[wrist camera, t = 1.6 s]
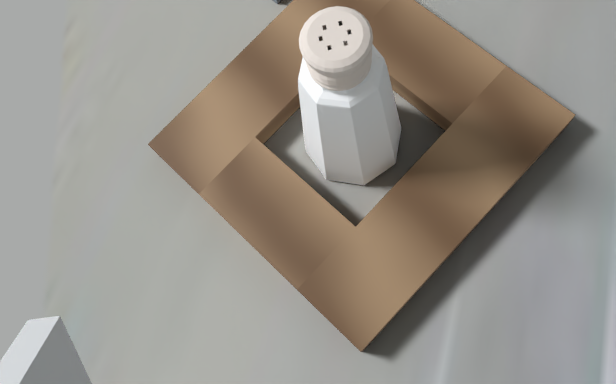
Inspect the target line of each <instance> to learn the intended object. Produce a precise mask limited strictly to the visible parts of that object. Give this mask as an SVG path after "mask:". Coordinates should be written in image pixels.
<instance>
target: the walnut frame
mask: <svg viewBox="0 0 616 384" xmlns="http://www.w3.org/2000/svg"><path fill="white" fill-rule="evenodd" d="M335 6H341V7H348V8H351V9H354V10H356V11H358V12H359V13H361V14H362V15H363V16H364V17H365V18H366V19H367V20H368V22H369V24H370V26H371V28H372V34H373V43H372V44H373V45H374V47H375V48H376V49H377V50H378V51H379V53H380V54H381V55H382V56H383V57H384V59H385V62H386V65H387V69H388V73H389V77H390V81H391V86H392V90H394V91H395V92H396V93H398V94H399V95H400V96H401V97H403V98H404V99H405V100H407V101H408V102H409V103H410V104H412V105H413V106H414V107H416V108H417V109H418V110H419V111H421V112H422V113H423V114H425V115H426V116H427V117H428V118H430V119H431V120H432V121H433V122H435V123H436V124H437V125H439V126H440V127H441V128H442V129H444V130H445V132H444V133H443V134H442V135H441V136H440V137H439V138H438V139H437V141H436V142H435V143H434V144H433V145H432V146H431V147H430V148H429V149H428V150H427V151H426V152H425V153H424V154H423V155H422V157H421V158H420V159H419V160H418V161H417V162H416V163H415V164H414V165H413V166H412V167H411V168H410V169H409V170H408V171H407V173H406V174H405V175H404V176H403V177H402V178H401V179H400V180H399V181H398V182H397V183H396V184H395V185H394V186H393V187H392V189H391V190H390V191H389V192H388V193H387V194H386V195H385V196H384V197H383V198H382V199H381V200H380V201H379V202H378V204H377V205H376V206H375V207H374V208H373V209H372V210H371V211H370V212H369V213H368V214H367V215H366V216H365V217H364V218H363V220H362V221H361V222H360V223H359V224H358V225H357V226H356V227H355V226H354V225H353V224H352V223H351V222H350V221H349V220H347V219H346V218H345V217H344V216H343V215H342V214H341V213H340V212H338V211H337V210H336V209H335V208H334V207H333V206H332V205H331V204H329V203H328V202H327V201H326V200H325V199H324V198H323V197H322V196H321V195H319V194H318V193H317V192H316V191H315V190H314V189H313V188H312V187H310V186H309V185H308V184H307V183H306V182H305V181H304V180H303V179H301V178H300V177H299V176H298V175H297V174H296V173H295V172H294V171H292V170H291V169H290V168H289V167H288V166H287V165H286V164H285V163H284V162H282V161H281V160H280V159H279V158H278V157H277V156H276V155H275V154H273V153H272V152H271V151H270V150H269V149H268V148H267V147H266V146H264V145H263V144H264V143H265V142H266V141H267V140H268V139H269V138H270V137H271V136H272V135H273V134H274V133H275V132H276V131H277V130H278V129H279V128H280V127H281V126H282V125H283V124H284V123H285V122H286V121H287V120H288V119H289V118H290V117H291V116H292V115H293V114H294V112H295V111H296V110H297V109H298V108H299V107H300V100H299V91H298V77H299V72H300V67H301V63H302V58H303V56H302V53H301V51H300V48H299V36H300V32H301V29H302V27H303V26H304V24H305V22H306V21H307V20H308V19H309V18H310V17H311V16H312V15H314V14H315V13H317V12H318V11H320V10H323V9H325V8H328V7H335ZM574 116H575V114H573V113H572V112H571V111H569V110H568V109H566V108H565V107H564V106H562V105H561V104H559V103H558V102H557V101H555V100H554V99H552V98H551V97H550V96H548V95H547V94H545V93H544V92H543V91H541V90H540V89H538V88H537V87H535V86H534V85H533V84H531V83H530V82H528V81H527V80H526V79H524V78H523V77H521V76H520V75H519V74H517V73H516V72H514V71H513V70H512V69H510V68H509V67H507V66H506V65H505V64H503V63H502V62H500V61H499V60H498V59H496V58H495V57H493V56H492V55H490V54H489V53H488V52H486V51H485V50H483V49H482V48H481V47H479V46H478V45H476V44H475V43H474V42H472V41H471V40H469V39H468V38H467V37H465V36H464V35H462V34H461V33H460V32H458V31H457V30H455V29H454V28H453V27H451V26H450V25H448V24H447V23H445V22H444V21H443V20H441V19H440V18H438V17H437V16H436V15H434V14H433V13H431V12H430V11H429V10H427V9H426V8H424V7H423V6H422V5H420V4H419V3H417V2H416V1H415V0H293V1H292V2H291V3H290V4H289V5H288V6H287V7H286V8H285V9H284V10H283V11H282V12H281V13H280V14H279V15H278V16H277V17H276V18H275V19H274V20H273V21H272V22H271V23H270V24H269V25H268V26H267V27H266V28H265V29H264V30H263V31H262V32H261V33H260V34H259V35H258V36H257V37H256V38H255V39H254V40H253V41H252V42H251V43H250V44H249V45H248V46H247V47H246V48H245V49H244V50H243V51H242V52H241V53H240V54H239V55H238V56H237V57H236V58H235V59H234V60H233V61H232V62H231V63H230V64H229V65H228V66H227V67H226V68H225V69H224V70H223V71H222V72H221V73H219V74H218V75H217V76H216V77H215V78H214V79H213V80H212V81H211V82H210V83H209V84H208V85H207V86H206V87H205V88H204V89H203V90H202V91H201V92H200V93H199V94H198V95H197V96H196V97H195V98H194V99H193V100H192V101H191V102H190V103H189V104H188V105H187V106H186V107H185V108H184V109H183V110H182V111H181V112H180V113H179V114H178V115H177V116H176V117H175V118H174V119H173V120H172V121H171V122H170V123H169V124H168V125H167V126H166V127H165V128H164V129H163V130H162V131H161V132H160V133H159V134H158V135H157V136H156V137H155V138H154V139H153V140H152V141H151V142H150V143H149V144H148V145H149V146H150V147H151V148H152V149H153V150H154V151H155V152H156V153H157V154H158V155H159V156H160V157H161V158H162V159H163V160H164V161H165V162H166V163H167V164H168V165H169V166H170V167H171V168H172V169H174V170H175V171H176V172H177V173H178V174H179V175H180V176H181V177H182V178H183V179H184V180H185V181H186V182H187V183H188V184H189V185H190V186H191V187H192V188H193V189H194V190H195V191H196V192H197V193H198V194H199V195H200V196H201V197H202V198H203V199H204V200H205V201H206V202H207V203H208V204H209V205H211V206H212V207H213V208H214V209H215V210H216V211H217V212H218V213H219V214H220V215H221V216H222V217H223V218H224V219H225V220H226V221H227V222H228V223H229V224H230V225H231V226H232V227H233V228H234V229H235V230H236V231H237V232H238V233H239V234H240V235H241V236H242V237H243V238H244V239H245V240H246V241H248V242H249V243H250V244H251V245H252V246H253V247H254V248H255V249H256V250H257V251H258V252H259V253H260V254H261V255H262V256H263V257H264V258H265V259H266V260H267V261H268V262H269V263H270V264H271V265H272V266H273V267H274V268H275V269H276V270H277V271H278V272H279V273H280V274H281V275H282V276H283V277H285V278H286V279H287V280H288V281H289V282H290V283H291V284H292V285H293V286H294V287H295V288H296V289H297V290H298V291H299V292H300V293H301V294H302V295H303V296H304V297H305V298H306V299H307V300H308V301H309V302H310V303H311V304H312V305H313V306H314V307H315V308H316V309H317V310H318V311H319V312H320V313H321V314H323V315H324V316H325V317H326V318H327V319H328V320H329V321H330V322H331V323H332V324H333V325H334V326H335V327H336V328H337V329H338V330H339V331H340V332H341V333H342V334H343V335H344V336H345V337H346V338H347V339H348V340H349V341H350V342H351V343H352V344H353V345H354V346H355V347H356V348H357V349H358V350H360V351H361V352H363V351H364V350H365V349H366V348H367V346H368V345H369V344H370V343H371V342H372V341H373V340H374V339H375V338H376V337H377V335H378V334H379V333H380V332H381V331H382V330H383V329H384V328H385V327H386V325H387V324H388V323H389V322H390V321H391V320H392V319H393V318H394V317H395V316H396V314H397V313H398V312H399V311H400V310H401V309H402V308H403V307H404V306H405V304H406V303H407V302H408V301H409V300H410V299H411V298H412V297H413V296H414V295H415V293H416V292H417V291H418V290H419V289H420V288H421V287H422V286H423V285H424V284H425V282H426V281H427V280H428V279H429V278H430V277H431V276H432V275H433V274H434V272H435V271H436V270H437V269H438V268H439V267H440V266H441V265H442V264H443V263H444V261H445V260H446V259H447V258H448V257H449V256H450V255H451V254H452V253H453V252H454V250H455V249H456V248H457V247H458V246H459V245H460V244H461V243H462V242H463V240H464V239H465V238H466V237H467V236H468V235H469V234H470V233H471V232H472V231H473V229H474V228H475V227H476V226H477V225H478V224H479V223H480V222H481V221H482V219H483V218H484V217H485V216H486V215H487V214H488V213H489V212H490V211H491V210H492V208H493V207H494V206H495V205H496V204H497V203H498V202H499V201H500V200H501V199H502V197H503V196H504V195H505V194H506V193H507V192H508V191H509V190H510V189H511V187H512V186H513V185H514V184H515V183H516V182H517V181H518V180H519V179H520V178H521V176H522V175H523V174H524V173H525V172H526V171H527V170H528V169H529V168H530V166H531V165H532V164H533V163H534V162H535V161H536V160H537V159H538V158H539V157H540V155H541V154H542V153H543V152H544V151H545V150H546V149H547V148H548V147H549V146H550V144H551V143H552V142H553V141H554V140H555V139H556V138H557V137H558V136H559V134H560V133H561V132H562V131H563V130H564V129H565V128H566V127H567V126H568V124H569V123H570V122H571V120H572V119H573V118H574Z"/></svg>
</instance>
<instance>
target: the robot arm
mask: <svg viewBox="0 0 616 384" xmlns="http://www.w3.org/2000/svg"><path fill="white" fill-rule="evenodd" d="M0 384H92V383H91V381H90V379H89V377H88V375H87V373H86V371H85V368H84V366H83V364H82V362H81V360H80V358H79V356H78V353H77V351H76V349H75V347H74V345H73V343H72V341H71V339H70V336H69V334H68V332H67V330H66V328H65V326H64V324H63V321H62V319H61V317H60V316H55V317H47V318H39V319H31V320H28V321H27V322H26V324H25V326H24V327H23V328H22V330H21V331H20V333H19V334H18V336H17V337H16V339H15V340H14V342H13V343H12V345H11V346H10V348H9V349H8V351H7V352H6V354H5V355H4V357H3V358H2V360H1V361H0Z"/></svg>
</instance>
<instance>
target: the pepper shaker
mask: <svg viewBox="0 0 616 384" xmlns="http://www.w3.org/2000/svg"><path fill="white" fill-rule="evenodd" d="M372 43H373V34H372V28H371V26H370V24H369V22H368V20H367V19H366V18H365V17H364V16H363V15H362V14H361V13H359V12H358V11H356V10H354V9H351V8H348V7H341V6H335V7H328V8H325V9H323V10H320V11H318V12H317V13H315V14H314V15H312V16H311V17H310V18H309V19H308V20H307V21H306V22H305V24H304V26H303V27H302V29H301V32H300V36H299V48H300V51H301V53H302V56H303V58H302V63H301V67H300V72H299V77H298V91H299V100H300V108H301V117H302V125H303V134H304V142H305V151H306V152H307V154H308V155H309V156H310V158H311V159H312V161H313V162H314V163H315V165H316V166H317V167H318V169H319V170H320V172H321V173H322V174H323V176H324V177H325V178H326V180H332V181H338V182H345V183H352V184H358V185H365V184H367V183H368V182H370V181H371V180H373V179H374V178H376V177H377V176H378V175H380V174H381V173H383V172H384V171H386V170H387V169H389V168H390V167H391V166H393V165H394V164H396V158H397V152H398V146H399V140H400V134H401V124H400V120H399V115H398V111H397V107H396V103H395V98H394V94H393V90H392V86H391V81H390V77H389V73H388V69H387V65H386V62H385V59H384V57H383V56H382V55H381V54H380V53H379V51H378V50H377V49H376V48H375V47H374V45H373V44H372Z"/></svg>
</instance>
